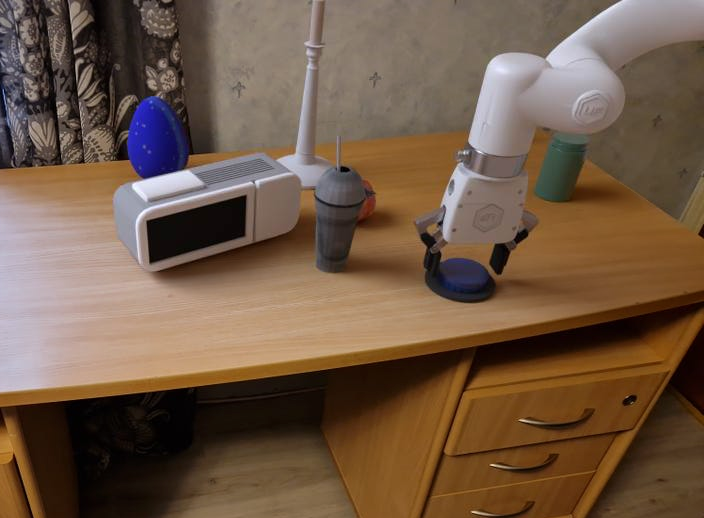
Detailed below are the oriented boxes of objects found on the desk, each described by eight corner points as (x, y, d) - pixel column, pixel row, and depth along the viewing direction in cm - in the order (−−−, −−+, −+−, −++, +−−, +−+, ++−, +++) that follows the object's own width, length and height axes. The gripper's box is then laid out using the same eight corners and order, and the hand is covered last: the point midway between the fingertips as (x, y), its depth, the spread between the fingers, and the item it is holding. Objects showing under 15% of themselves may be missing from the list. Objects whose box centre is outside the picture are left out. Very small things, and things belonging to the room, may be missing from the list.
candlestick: (316, 154, 133) (333, -17, 113) (351, 182, 124) (376, 1, 104) (257, 165, 129) (265, -10, 109) (289, 194, 120) (303, 9, 100)
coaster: (479, 263, 104) (480, 259, 103) (505, 301, 96) (506, 298, 96) (416, 265, 103) (416, 261, 103) (436, 304, 95) (437, 300, 95)
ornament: (197, 180, 124) (196, 97, 114) (162, 198, 119) (157, 112, 109) (154, 163, 129) (149, 82, 119) (119, 179, 124) (111, 96, 114)
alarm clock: (142, 282, 99) (136, 208, 91) (117, 252, 105) (110, 181, 97) (297, 236, 109) (304, 166, 101) (267, 211, 115) (271, 144, 107)
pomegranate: (320, 230, 115) (355, 218, 106) (312, 187, 114) (347, 172, 105) (355, 225, 118) (392, 213, 109) (348, 183, 118) (385, 167, 109)
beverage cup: (342, 283, 99) (361, 152, 86) (298, 268, 102) (310, 140, 89) (362, 260, 104) (383, 133, 91) (319, 247, 107) (334, 122, 94)
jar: (554, 183, 124) (574, 127, 118) (578, 199, 120) (600, 142, 113) (525, 188, 123) (543, 132, 116) (549, 204, 118) (569, 147, 111)
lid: (427, 271, 101) (430, 261, 100) (468, 263, 102) (471, 254, 101) (454, 297, 96) (457, 287, 95) (496, 289, 97) (499, 279, 96)
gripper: (438, 173, 84) (411, 287, 95) (572, 169, 85) (531, 283, 96) (420, 148, 89) (397, 258, 100) (546, 145, 90) (510, 255, 102)
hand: (462, 270), depth 98 cm, fingers open, 9 cm apart
